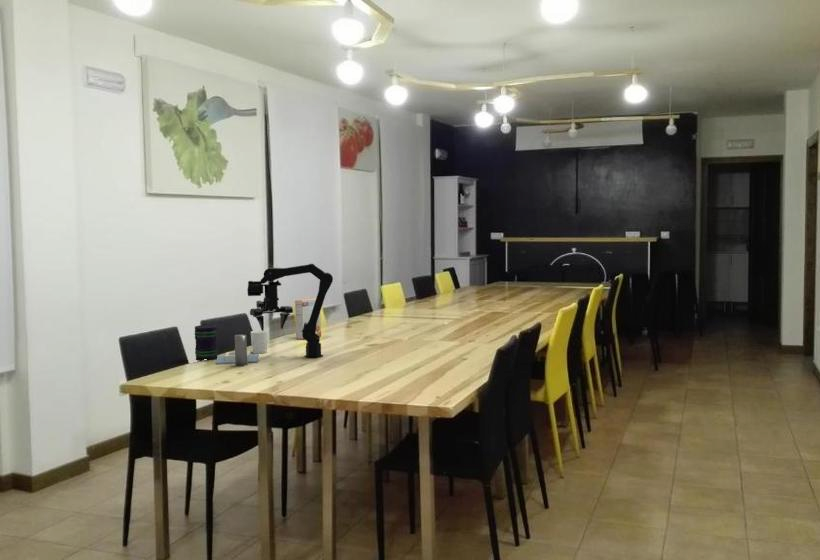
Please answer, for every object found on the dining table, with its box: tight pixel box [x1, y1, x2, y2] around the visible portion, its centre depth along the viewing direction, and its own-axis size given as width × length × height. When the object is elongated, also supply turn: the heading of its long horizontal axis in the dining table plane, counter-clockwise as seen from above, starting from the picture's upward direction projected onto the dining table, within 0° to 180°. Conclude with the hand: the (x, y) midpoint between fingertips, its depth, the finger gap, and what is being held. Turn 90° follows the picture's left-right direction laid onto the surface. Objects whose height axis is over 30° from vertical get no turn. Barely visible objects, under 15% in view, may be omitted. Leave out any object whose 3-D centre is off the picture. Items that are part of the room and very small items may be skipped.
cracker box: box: [294, 297, 322, 341], centre depth 394 cm, size 14×6×21 cm, turn 144°
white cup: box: [250, 330, 268, 354], centre depth 350 cm, size 8×8×10 cm
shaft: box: [234, 334, 248, 367], centre depth 318 cm, size 5×5×13 cm
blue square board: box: [215, 350, 260, 365], centre depth 332 cm, size 18×18×3 cm
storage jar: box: [194, 324, 219, 362], centre depth 334 cm, size 10×10×15 cm
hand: (272, 329), depth 335 cm, fingers open, 9 cm apart
